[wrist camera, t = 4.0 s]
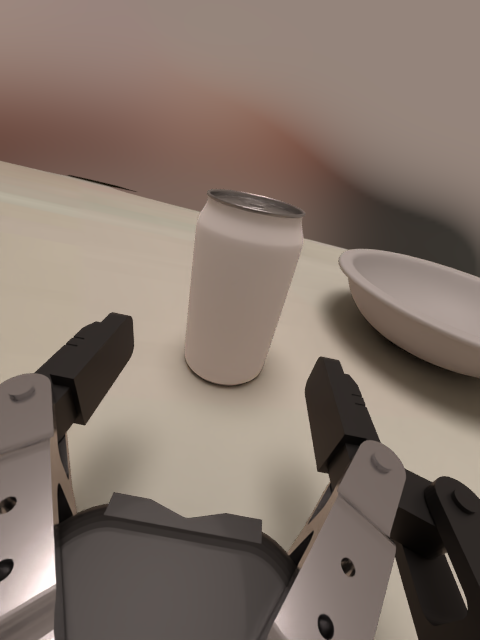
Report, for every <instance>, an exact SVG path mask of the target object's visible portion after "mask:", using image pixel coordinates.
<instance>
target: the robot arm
mask: <svg viewBox="0 0 480 640" xmlns="http://www.w3.org/2000/svg"><path fill="white" fill-rule="evenodd" d="M133 349H134V335H133V319H132V317H131V316H128V315H123V314H118V313H113V312H112V313H110V314H109V315H108V316H107V317H106V318H105V319H104V320H103V321H102V322H94V323H92V324H90V325H87V326H85V327H83V328H82V329H81V330H80V331H79V332H78V333H77V334H76V335H75V336H74V338H71V339H70V340H69V341H68V342H67V343H66V345H64V346H63V347H62V348H61V349H60V350H58V351H57V352H56V353H55V354H54V355H53V356H52V357H51V358H50V359H49V360H48V361H47V362H46V363H44V364H43V365H42V366H41V367H40V368H39V369H38V370H37V371H36V372H35V373H30V374H22V375H19V376H16V377H13V378H10V379H8V380H6V381H5V382H3V383H1V384H0V640H374V636H375V632H376V628H377V625H378V621H379V617H380V613H381V609H382V605H383V601H384V597H385V593H386V589H387V585H388V581H389V577H390V573H391V570H392V566H393V562H394V558H396V561H397V565H398V568H399V572H400V576H401V579H402V583H403V586H404V590H405V593H406V597H407V600H408V604H409V608H410V611H411V615H412V618H413V622H414V625H415V629H416V632H417V636H418V640H480V499H479V498H478V497H477V496H476V495H475V494H474V493H473V492H472V491H471V490H470V489H469V488H468V487H467V486H465V485H464V484H462V483H461V482H459V481H457V480H455V479H453V478H450V477H446V476H442V477H439V478H438V479H436V480H435V481H434V482H430V481H428V480H426V479H424V478H422V477H420V476H418V475H416V474H414V473H412V472H410V471H408V470H407V469H405V468H404V466H403V464H402V462H401V461H400V459H399V458H398V457H397V455H396V454H395V453H394V452H393V451H392V450H391V449H389V448H388V447H387V446H385V445H384V444H382V443H381V442H380V440H379V437H378V435H377V432H376V430H375V427H374V425H373V422H372V420H371V417H370V415H369V412H368V410H367V407H365V402H364V400H363V398H362V395H361V392H360V390H359V387H358V385H357V384H356V383H355V381H354V380H353V379H352V378H351V377H350V375H348V374H344V372H343V369H342V366H341V364H340V362H339V360H335V359H330V358H326V357H319V358H318V360H317V362H316V364H315V366H314V368H313V370H312V372H311V374H310V376H309V378H308V380H307V383H306V387H305V398H306V404H307V410H308V416H309V422H310V428H311V434H312V440H313V447H314V453H315V459H316V465H317V471H318V472H322V473H328V474H329V478H330V482H329V484H328V485H327V487H326V489H325V490H324V492H323V494H322V496H321V497H320V499H319V501H318V503H317V504H316V506H315V508H314V510H313V512H312V513H311V515H310V517H309V519H308V520H307V522H306V524H305V526H304V527H303V529H302V531H301V532H300V534H299V535H298V537H297V538H296V539H295V541H294V542H293V544H292V546H291V547H290V549H289V550H288V552H287V553H286V551H285V550H284V549H283V548H282V547H281V546H280V545H279V544H278V543H277V542H276V541H275V540H273V539H272V538H271V537H269V536H268V535H267V534H265V533H263V532H262V520H260V519H254V518H249V517H244V516H238V515H233V514H228V513H224V514H216V515H209V516H201V517H193V518H185V517H182V516H180V515H179V514H177V513H175V512H173V511H171V510H170V509H168V508H166V507H164V506H162V505H160V504H159V503H157V502H155V501H153V500H151V499H147V498H142V497H136V496H131V495H126V494H120V493H115V492H114V493H113V496H112V498H111V500H110V502H109V504H103V505H99V506H95V507H92V508H89V509H86V510H84V511H81V512H79V513H77V509H76V502H75V497H74V493H73V487H72V479H71V469H70V458H69V448H68V437H67V431H68V429H69V428H70V427H71V425H72V424H73V423H76V424H81V425H86V423H87V422H88V420H89V419H90V417H91V416H92V414H93V413H94V411H95V410H96V408H97V407H98V405H99V404H100V402H101V401H102V399H103V398H104V396H105V395H106V393H107V392H108V390H109V389H110V388H111V386H112V385H113V383H114V382H115V380H116V379H117V377H118V376H119V374H120V373H121V371H122V370H123V368H124V367H125V365H126V364H127V362H128V361H129V359H130V358H131V355H132V353H133ZM445 553H448V555H449V558H450V560H451V562H452V565H453V567H454V570H455V572H456V574H457V577H458V579H459V582H460V584H461V586H462V589H463V591H464V594H465V596H466V600H467V605H468V611H467V608H466V606H465V603H464V601H463V598H462V596H461V594H460V591H459V589H458V586H457V584H456V581H455V579H454V576H453V574H452V571H451V569H450V567H449V564H448V562H447V559H446V557H445Z"/></svg>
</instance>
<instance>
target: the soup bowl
mask: <svg viewBox="0 0 480 640" xmlns="http://www.w3.org/2000/svg"><path fill="white" fill-rule="evenodd" d="M338 262H339V266H340V268H341V270H342V271H343V273H344V274H345V275H346V276H347V277H348V282H349V287H350V291H351V294H352V297H353V299H354V302H355V304H356V305H357V307H358V309H359V310H360V312H361V313H362V315H363V316H364V317H365V319H366V320H367V321H368V322H369V323H370V324H371V325H372V326H373V327H374V328H375V329H376V330H377V331H378V332H379V333H380V334H382V335H383V336H384V337H386V338H387V339H388V340H390V341H391V342H393V343H394V344H396V345H397V346H399V347H400V348H402V349H404V350H405V351H407V352H409V353H411V354H413V355H414V356H416V357H418V358H420V359H423V360H425V361H427V362H429V363H432V364H434V365H436V366H439V367H442V368H444V369H447V370H450V371H453V372H456V373H460V374H464V375H468V376H472V377H477V378H480V278H478V277H476V276H473V275H470V274H468V273H465V272H462V271H459V270H456V269H452V268H450V267H446V266H443V265H440V264H436V263H433V262H430V261H427V260H423V259H419V258H415V257H411V256H407V255H403V254H398V253H393V252H387V251H381V250H372V249H353V250H347V251H345V252H343V253H342V254H341V255H340V257H339V261H338Z"/></svg>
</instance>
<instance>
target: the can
mask: <svg viewBox="0 0 480 640" xmlns="http://www.w3.org/2000/svg"><path fill="white" fill-rule="evenodd" d="M207 195H208V200H207V203H206V205H205V206H204V208H203V210H202V211H201V213H200V215H199V217H198V219H197V224H196V232H195V242H194V252H193V262H192V273H191V283H190V294H189V305H188V316H187V327H186V339H185V359H186V362H187V364H188V365H189V367H190V368H191V369H192V370H193V371H194V372H195V373H196V374H197V375H198V376H200V377H201V378H203V379H204V380H206V381H209V382H211V383H214V384H218V385H227V386H231V385H238V384H242V383H245V382H248V381H250V380H252V379H254V378H255V377H256V376H257V375H258V374H259V373H260V372H261V370H262V368H263V365H264V362H265V359H266V356H267V354H268V351H269V348H270V345H271V342H272V339H273V336H274V333H275V330H276V327H277V324H278V321H279V318H280V314H281V311H282V308H283V305H284V302H285V299H286V296H287V293H288V290H289V287H290V284H291V281H292V278H293V275H294V272H295V269H296V266H297V262H298V259H299V256H300V253H301V249H302V246H303V232H302V217H304V216H305V212H304V211H303V210H302V209H300V208H298V207H296V206H294V205H291V204H288V203H285V202H282V201H279V200H276V199H272V198H268V197H264V196H260V195H255V194H251V193H246V192H240V191H234V190H225V189H211V190H208V191H207Z"/></svg>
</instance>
